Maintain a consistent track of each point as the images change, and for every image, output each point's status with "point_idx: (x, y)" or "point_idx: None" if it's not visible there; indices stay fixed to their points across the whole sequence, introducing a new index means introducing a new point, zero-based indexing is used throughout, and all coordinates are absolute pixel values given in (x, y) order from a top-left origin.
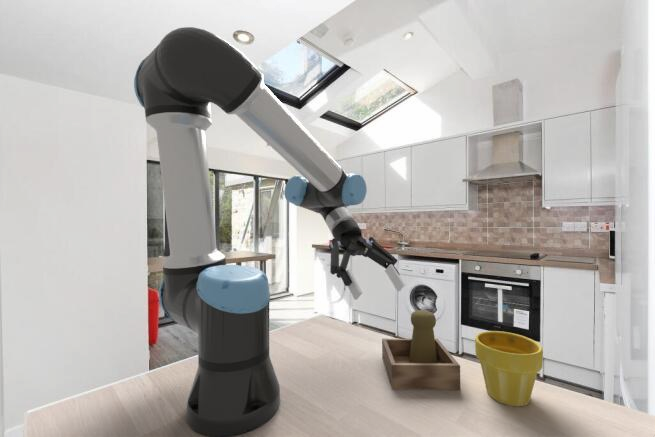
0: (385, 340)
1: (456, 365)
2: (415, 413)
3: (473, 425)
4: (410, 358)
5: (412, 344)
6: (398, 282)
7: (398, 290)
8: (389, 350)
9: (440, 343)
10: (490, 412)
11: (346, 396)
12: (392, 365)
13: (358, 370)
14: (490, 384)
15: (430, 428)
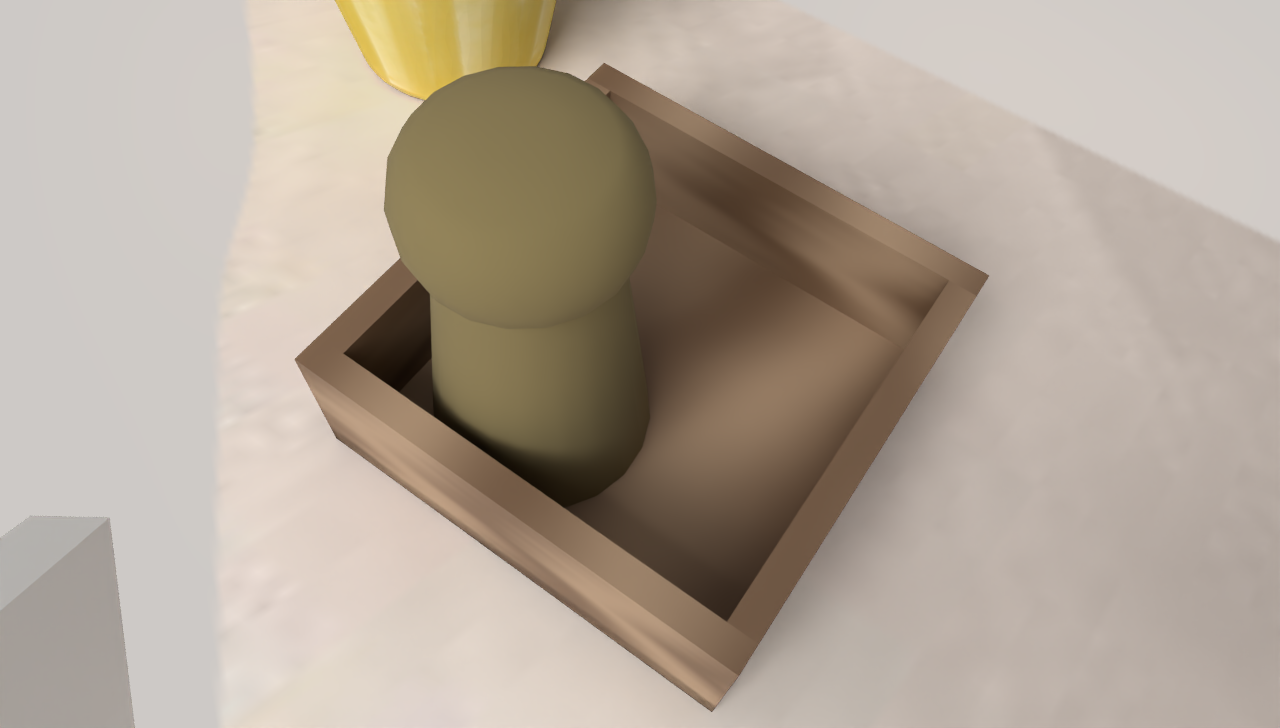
0: (741, 617)
1: (620, 74)
2: (954, 179)
3: (791, 33)
4: (633, 439)
5: (628, 373)
6: (33, 683)
7: (131, 723)
8: (854, 438)
9: (378, 291)
10: (652, 31)
11: (1227, 453)
12: (983, 275)
13: (1014, 663)
14: (554, 4)
15: (962, 102)
